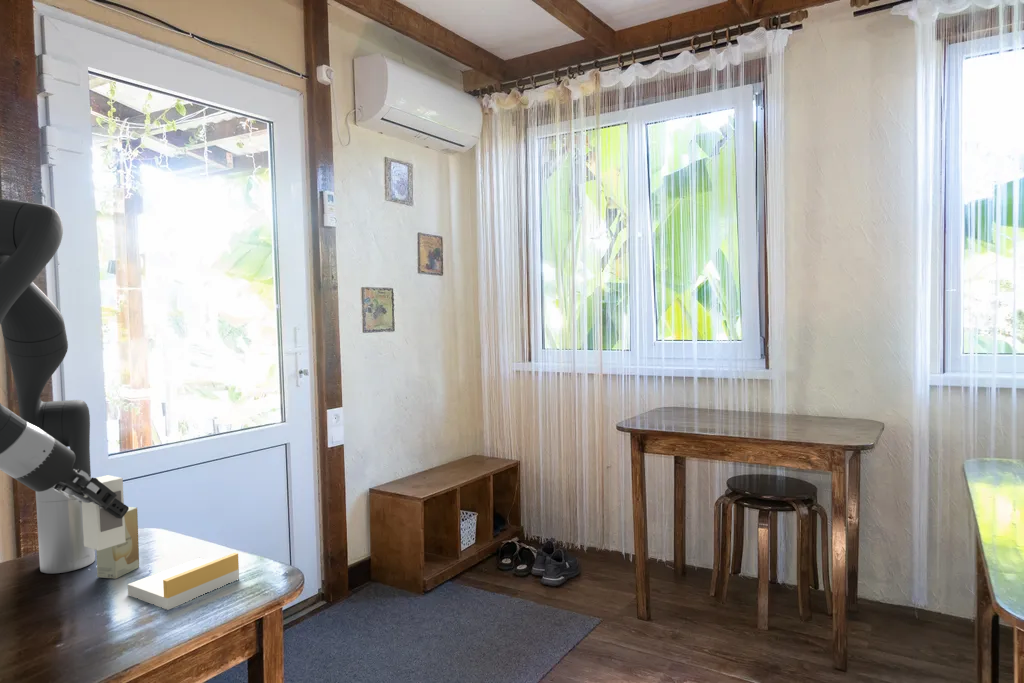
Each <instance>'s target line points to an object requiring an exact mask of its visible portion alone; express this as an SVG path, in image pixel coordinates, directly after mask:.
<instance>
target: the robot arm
mask: <svg viewBox="0 0 1024 683" xmlns="http://www.w3.org/2000/svg"><path fill="white" fill-rule="evenodd" d="M63 234H64V226H63V220H62V218H61V216H60V213H59V212H58V211H57V210H56V209H55V208H53V207H52V206H50V205H46V204H41V203H36V202H28V201H21V200H14V199H7V198H0V326H1V333H2V337H3V340H4V345H5V349H6V353H7V357H8V360H9V363H10V367H11V371H12V374H13V378H14V384H15V387H16V388H15V389H16V394H17V395H16V396H17V403H18V409H19V410H18V411H19V415H17V413H15V412H13V411H12V410H10V409H9V408H8V407H7V406H4V405H3V404H2V403H1V402H0V471H1V472H3V473H4V474H6V475H8V476H10V477H11V478H13V479H15V480H16V481H17V482H19V483H21V484H23V485H24V486H26V487H28V488H29V489H30V490H32V491H34V492H35V501H36V503H35V504H36V519H37V520H36V522H37V535H38V536H37V537H38V538H37V539H38V540H37V541H38V555H39V556H38V557H39V570H40V572H41V573H44V574H60V573H61V574H62V573H69V572H72V571H76V570H80V569H82V568H85V567H87V566H90V565H91V564H93V563H94V562H95V561H96V550H95V549H92V548H88V547H85V546H84V536H83V516H82V501H83V502H84V503H90V502H91V503H93V504H95V505H97V506H98V507H99V508H102V509H104V510H106V511H107V512H109V513H110V514H112V515H113V516H115V517H116V518H119V519H121V518H123V516H124V515H125V514H126V512H127V511H128V510H129V507H130V506H128V505H126V504H125V503H124V504H123V503H122V502H120V501H119V500H117V499H116V498H115V497H116V496H117V495H116V493H114V492H112V491H111V490H110V489H109V488H107V487H106V486H105V485H104V484H102V483H101V482H100V481H98V479H97V477H92V476H91V474H92V472H91V471H92V470H91V453H90V452H91V450H90V445H91V444H90V443H91V442H90V441H91V440H90V438H91V437H90V434H91V433H90V431H91V415H90V408H89V406H88V404H87V403H86V401H85V400H82V399H72V400H71V399H70V400H69V399H68V400H54V401H53V400H52V401H43V400H42V399H41V395H42V394H43V391H44V389H45V387H46V385H47V382H49V380H50V379H51V377H53V375H54V373H55V372H56V370H57V369H59V367H60V365H61V364H62V362H63V361H64V359H65V357H66V355H67V353H68V350H69V342H68V341H69V340H68V336H67V331H66V330H67V329H66V326H65V320H64V317H63V315H62V313H61V311H60V310H59V309H58V307H57V306H56V304H55V303H54V302H53V301H52V300H51V299H50V298H49V297H48V295H46V294H45V293H44V291H42V290H41V288H39V287H38V286H37V285H36V283H34V280H35V279H36V278H37V277H38V276H39V275H40V274H41V272H42V271H43V270H44V268H45V267H46V266H47V265H48V263H49V262H50V261H51V260H52V259H53V257H54V256H55V255H56V252H58V250H59V247H60V245H61V243H62V240H63ZM85 495H87V497H86V498H85V497H83V496H85ZM104 495H105V496H104ZM103 496H104V497H103Z"/></svg>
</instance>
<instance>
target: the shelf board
mask: <svg viewBox="0 0 1024 683" xmlns="http://www.w3.org/2000/svg"><path fill="white" fill-rule="evenodd" d="M239 566H240V565H239V553H238V552H233V553H230V554H228V555H225V556H223V557H220V558H217V559H215V560H208V559H204V558H201V557H197V558H195V559H192V560H188V561H187V562H184V563H181V564H178V565H176V566H173V567H170V568H168V569H165V570H162V571H159V572H157V573H155V574H152V575H151V574H150V575H149V576H146V577H143V578H141V579H138V580H136V581H133V582H130V583H127V595H128V596H130V597H132V598H135V599H137V598H138V600H140V601H142V602H145V603H149V604H151V605H153V604H154V605H153V606H156V607H159V608H161V607H162V609H164V610H167V611H170V610H171V609H174V608H176V607H178V606H180V605H182V604H185V602H186V603H187V602H190V601H192V599H193V598H195V599H197V598H199V597H198V596H200V595H202V596H204V595H206V594H205V593H207V592H209V593H211V592H213V591H212V590H214V589H216V590H218V589H220V587H221V588H223V587H225V586H227V585H226V584H228V583H230V584H232V583H234V582H233V581H235V580H237V579H239V580H240V567H239ZM237 581H238V580H237ZM231 582H232V583H231ZM235 582H236V581H235ZM224 585H225V586H224ZM228 585H229V584H228ZM222 586H223V587H222ZM217 588H218V589H217ZM210 591H211V592H210ZM214 591H215V590H214ZM203 594H204V595H203ZM207 594H208V593H207ZM196 597H197V598H196ZM200 597H201V596H200ZM189 600H190V601H189ZM193 600H194V599H193Z"/></svg>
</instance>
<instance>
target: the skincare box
mask: <svg viewBox="0 0 1024 683" xmlns="http://www.w3.org/2000/svg"><path fill="white" fill-rule="evenodd" d="M128 507H129V510H128V511H127V512H126V514H125V515H124V519H125V540H126V542H124V543H121V544H118V545H115V546H112V547H108V548H105V549H102V550H99V551H98V550H96V574H97V578H102V579H119V578H120V577H122V576H124V575H126V574H128V573H130V572H132V571H135V570H136V569H138V568H140V552H139V550H140V549H139V548H140V547H139V546H140V545H139V521H138V513H139V512H138V507H135V506H128Z"/></svg>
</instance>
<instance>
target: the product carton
mask: <svg viewBox="0 0 1024 683" xmlns="http://www.w3.org/2000/svg"><path fill="white" fill-rule="evenodd" d="M96 478H97V479H98V481H100V482H101V483H102V484H104V485H105V486H106V487H107V488H109V489H110V490H111V491H112V492H114V493H116V495H117V496H116V497H115V498H116V499H117V500H119V501H120V502H122V503H123V504H125V500H124V482H123V481H124V479H123V477H120V476H115V475H111V474H107V475H103V476H102V475H101V476H98V477H96ZM104 496H105V495H104ZM104 496H103V497H104ZM83 497H85V498H86V497H87V495H85V496H83ZM82 516H83V536H84V546H85V547H88V548H92V549H95V551H97V550H98V551H99V550H102V549H105V548H108V547H112V546H115V545H118V544H121V543H124V542H126V540H125V519H124V516H123V518H121V519H119V518H116V517H115V516H113V515H112V514H110V513H109V512H107V511H106V510H104V509H102V508H99V507H98V506H97V505H95V504H93V503H91V502H90V503H84V502H83V501H82Z"/></svg>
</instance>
